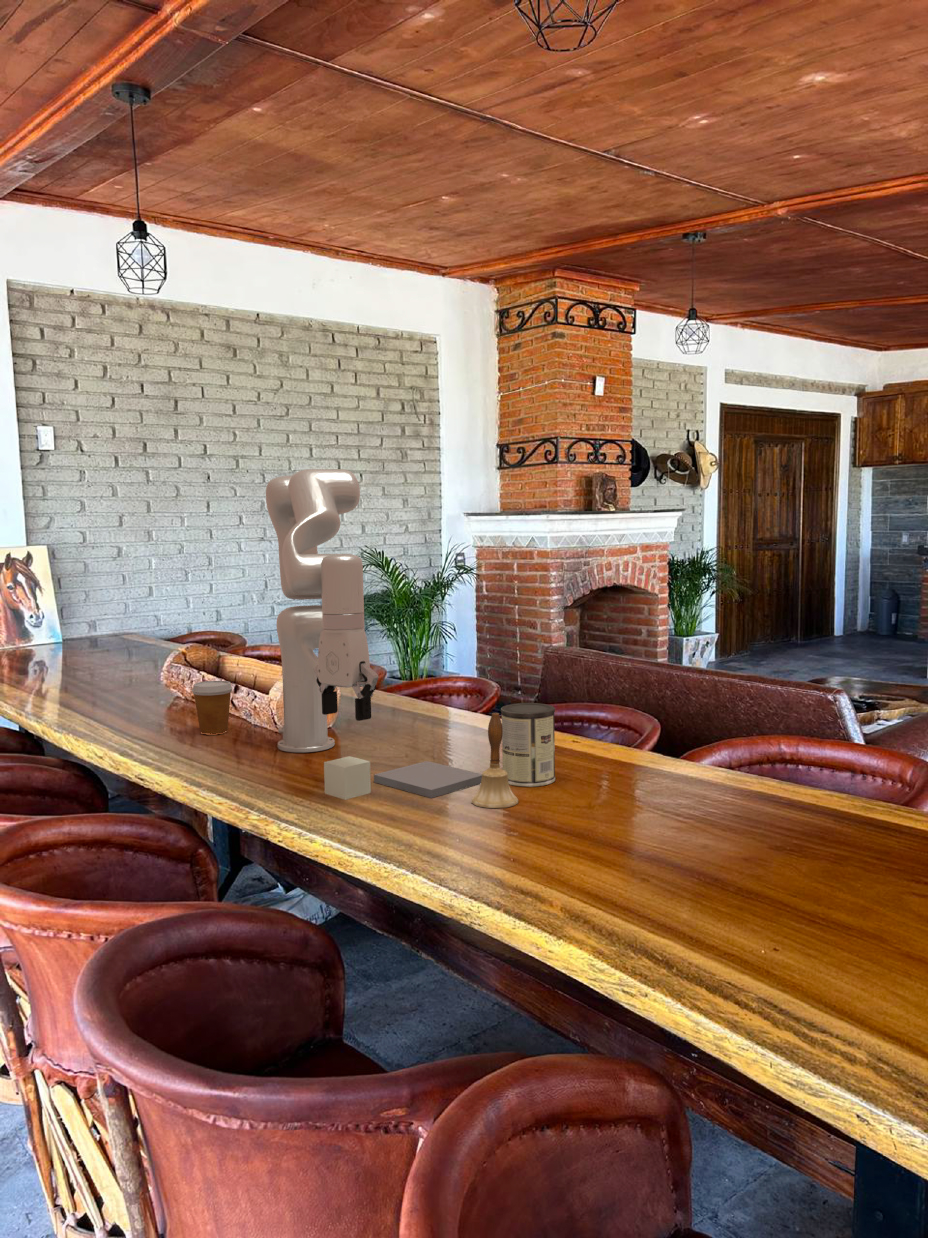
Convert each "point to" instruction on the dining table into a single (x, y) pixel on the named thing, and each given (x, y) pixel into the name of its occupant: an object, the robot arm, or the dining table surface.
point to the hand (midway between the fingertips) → (346, 716)
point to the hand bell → (495, 774)
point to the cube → (347, 777)
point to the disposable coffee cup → (212, 705)
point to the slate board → (428, 779)
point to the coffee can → (528, 744)
